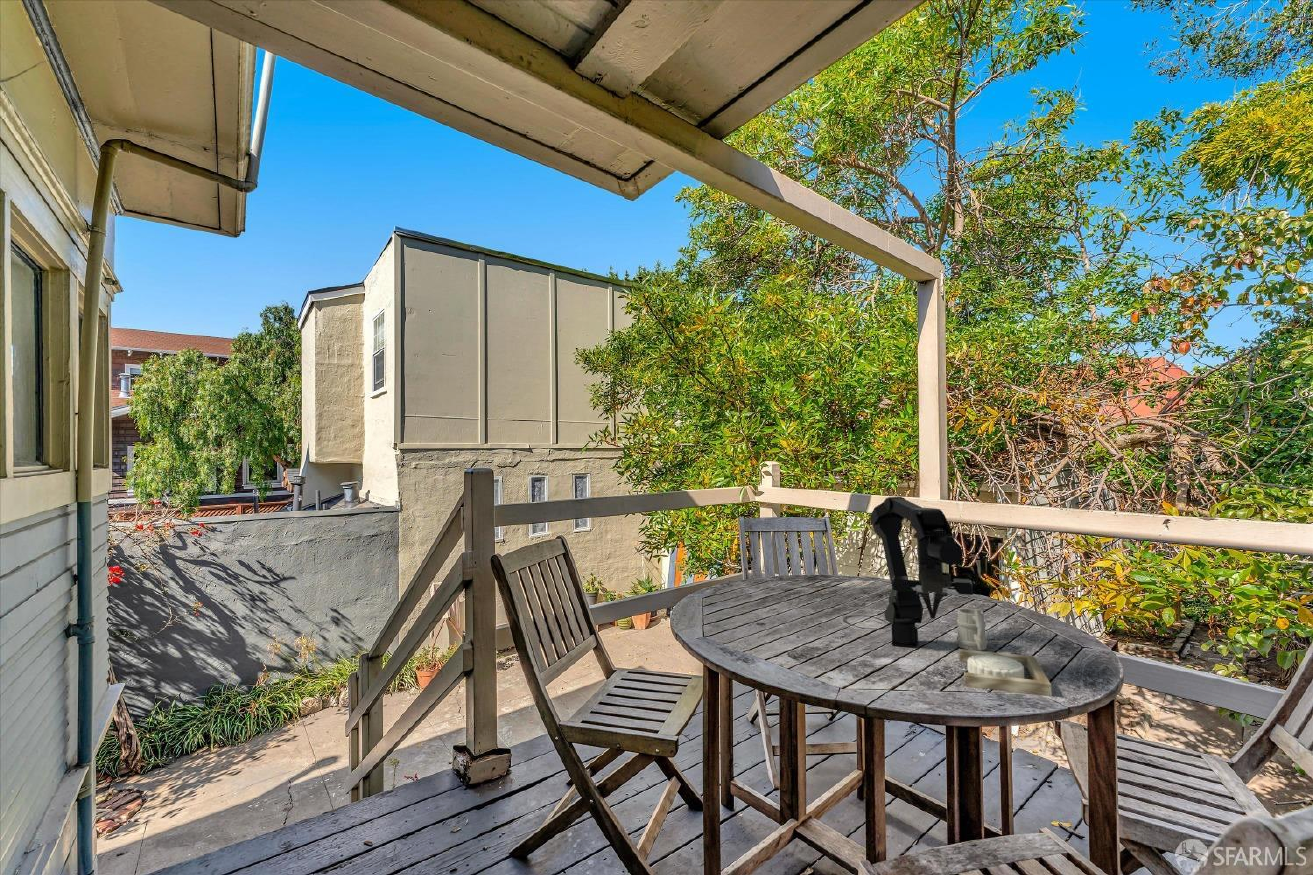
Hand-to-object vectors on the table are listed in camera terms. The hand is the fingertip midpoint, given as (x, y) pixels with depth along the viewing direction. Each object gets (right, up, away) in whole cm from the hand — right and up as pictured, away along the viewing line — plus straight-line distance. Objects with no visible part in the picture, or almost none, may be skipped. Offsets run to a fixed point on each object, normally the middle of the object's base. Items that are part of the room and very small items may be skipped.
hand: (932, 618), depth 149 cm
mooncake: (+12, -12, -8) cm, 18 cm away
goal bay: (+11, -11, -9) cm, 18 cm away
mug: (+16, -12, +10) cm, 23 cm away
